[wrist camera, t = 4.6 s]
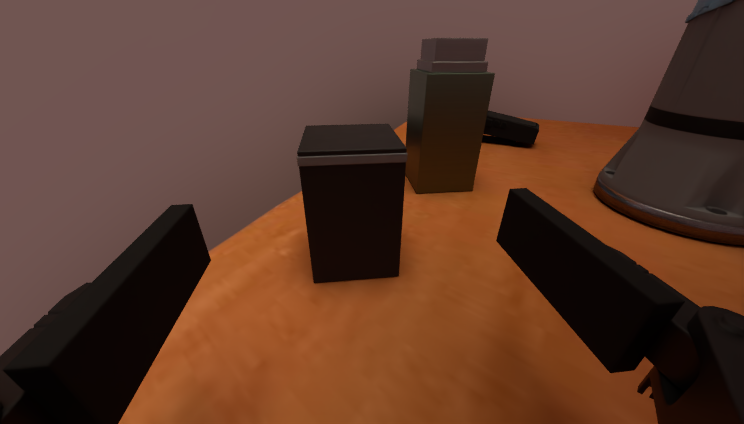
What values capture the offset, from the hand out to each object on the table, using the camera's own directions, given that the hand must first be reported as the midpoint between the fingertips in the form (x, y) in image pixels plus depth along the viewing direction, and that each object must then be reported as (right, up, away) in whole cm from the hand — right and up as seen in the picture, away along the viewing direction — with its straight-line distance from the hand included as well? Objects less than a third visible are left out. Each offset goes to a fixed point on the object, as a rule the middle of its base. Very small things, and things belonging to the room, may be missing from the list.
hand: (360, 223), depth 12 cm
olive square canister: (+9, +5, +26) cm, 28 cm away
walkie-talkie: (+21, +14, +43) cm, 50 cm away
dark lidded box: (-1, -3, +12) cm, 12 cm away
